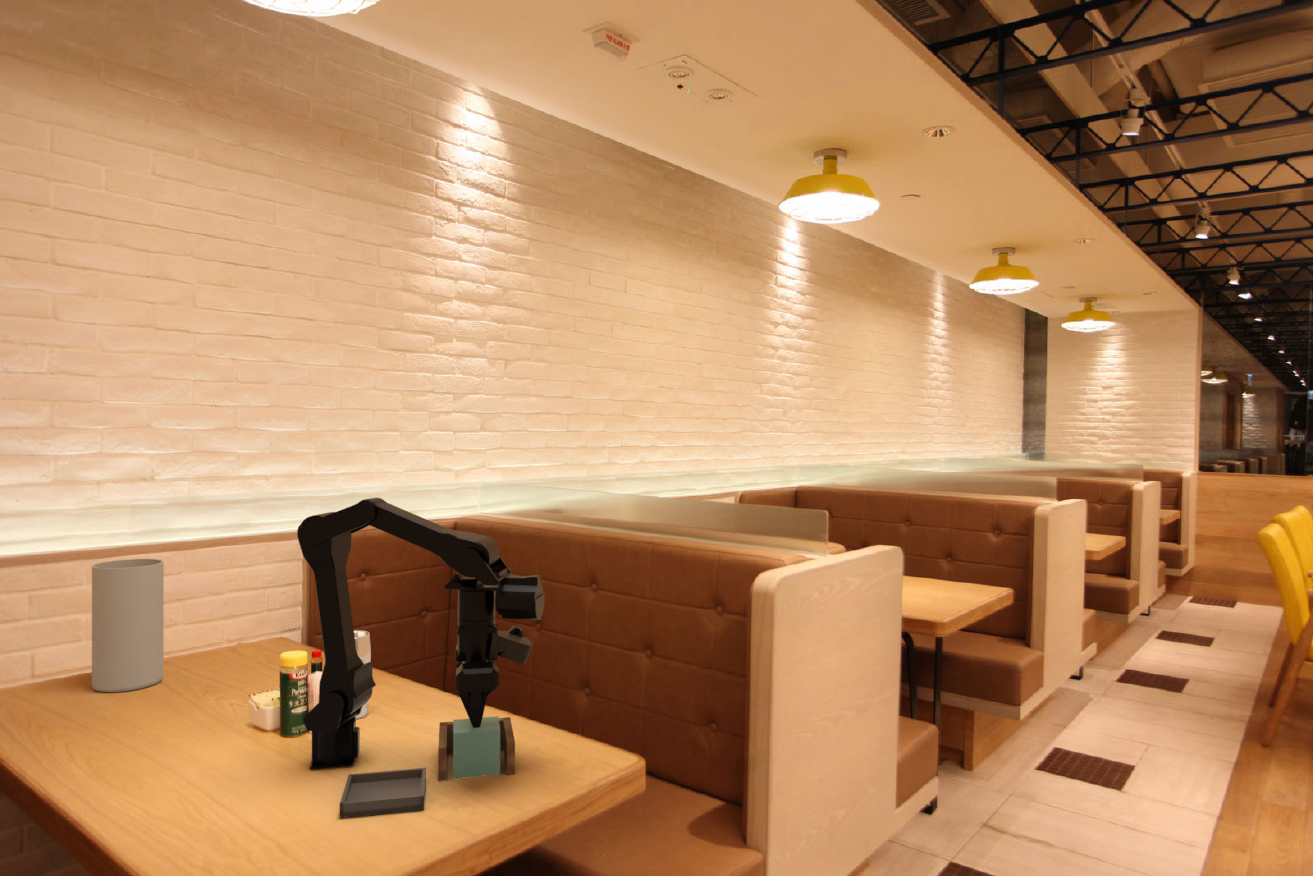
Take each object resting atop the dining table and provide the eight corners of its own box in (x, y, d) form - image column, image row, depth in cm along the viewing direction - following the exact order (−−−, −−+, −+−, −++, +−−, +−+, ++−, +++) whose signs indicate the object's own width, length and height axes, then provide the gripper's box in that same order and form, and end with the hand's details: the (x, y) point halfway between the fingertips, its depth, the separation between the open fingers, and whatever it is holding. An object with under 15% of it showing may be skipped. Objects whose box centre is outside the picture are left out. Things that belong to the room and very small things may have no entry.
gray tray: (339, 818, 113) (339, 804, 113) (348, 787, 122) (348, 774, 122) (423, 810, 115) (423, 796, 115) (426, 780, 125) (426, 767, 125)
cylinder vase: (139, 693, 165) (139, 568, 165) (77, 693, 165) (76, 568, 165) (176, 675, 178) (176, 559, 178) (118, 674, 178) (118, 558, 178)
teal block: (453, 779, 126) (453, 733, 126) (453, 763, 132) (453, 719, 132) (500, 774, 128) (500, 729, 128) (498, 759, 133) (498, 716, 133)
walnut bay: (438, 781, 125) (438, 748, 125) (439, 753, 136) (439, 722, 136) (514, 774, 128) (514, 741, 128) (510, 747, 139) (510, 717, 139)
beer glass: (357, 723, 150) (357, 640, 149) (322, 720, 151) (322, 638, 151) (377, 710, 156) (378, 631, 156) (344, 707, 158) (344, 629, 158)
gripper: (533, 629, 122) (533, 734, 123) (523, 603, 141) (523, 695, 141) (456, 633, 120) (455, 740, 120) (456, 606, 138) (455, 699, 138)
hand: (475, 717), depth 130 cm, fingers open, 9 cm apart
